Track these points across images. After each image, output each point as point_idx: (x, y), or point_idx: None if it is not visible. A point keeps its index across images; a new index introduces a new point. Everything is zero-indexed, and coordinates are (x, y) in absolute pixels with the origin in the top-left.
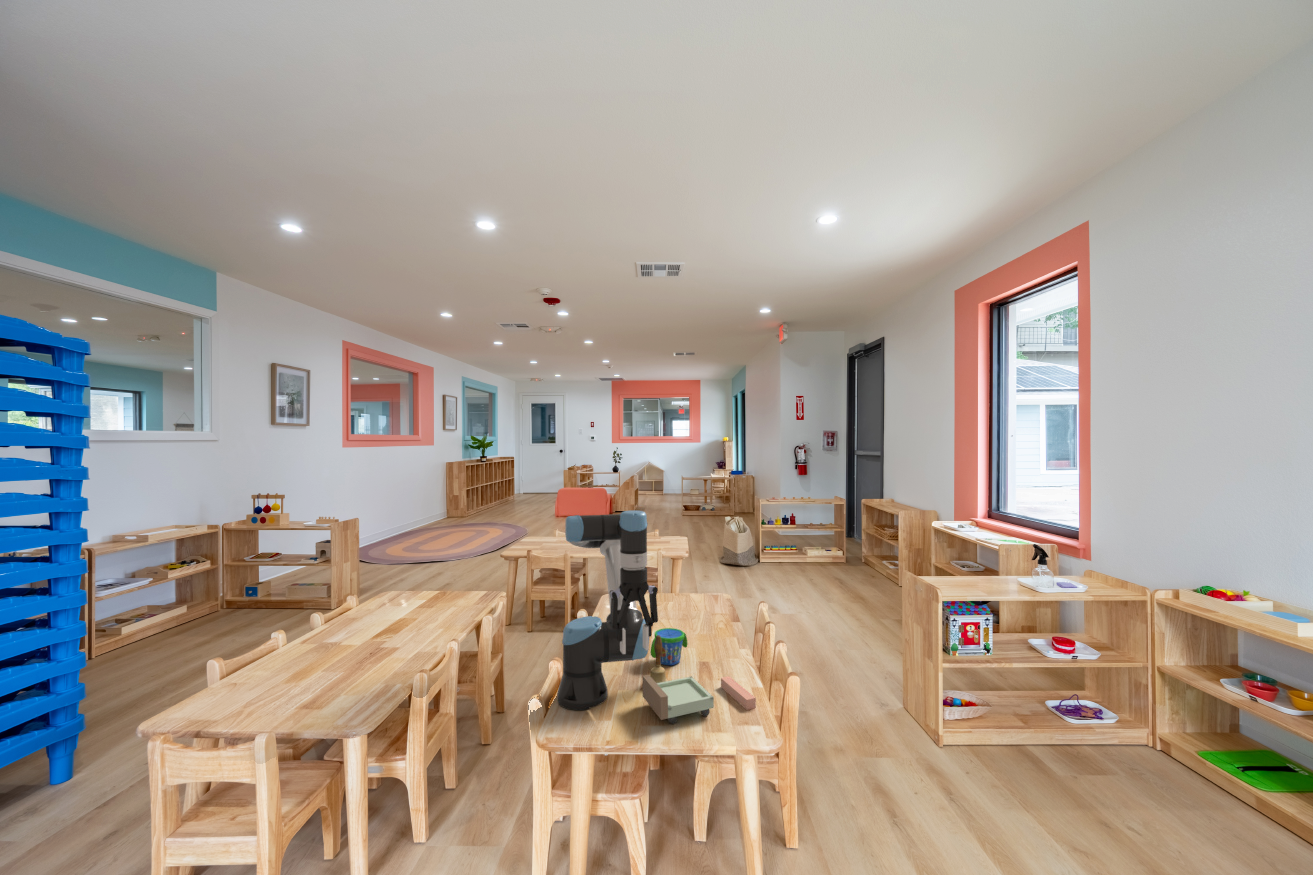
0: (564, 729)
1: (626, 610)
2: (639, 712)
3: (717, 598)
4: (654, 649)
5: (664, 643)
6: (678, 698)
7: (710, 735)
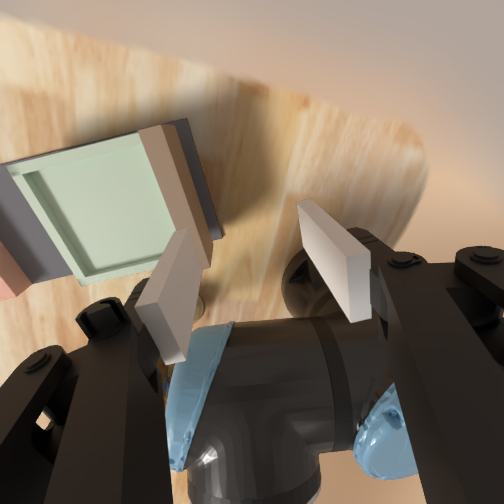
0: (384, 172)
1: (484, 462)
2: (223, 213)
3: None
4: (167, 369)
5: None
6: (119, 193)
7: (51, 77)
